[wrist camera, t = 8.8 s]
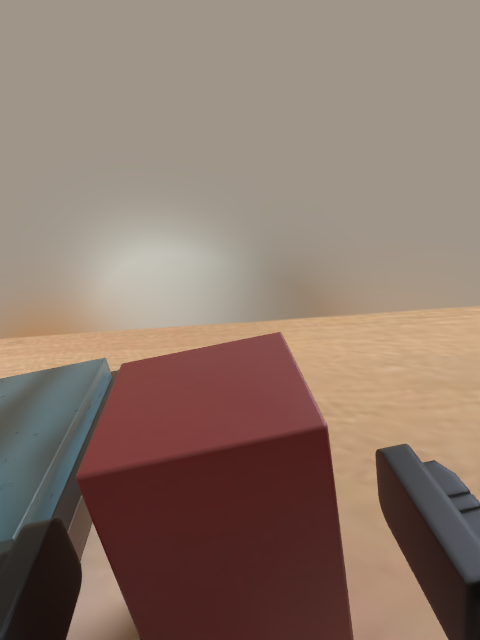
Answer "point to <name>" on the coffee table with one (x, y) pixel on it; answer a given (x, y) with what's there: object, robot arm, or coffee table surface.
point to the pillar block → (219, 497)
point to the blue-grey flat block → (48, 446)
